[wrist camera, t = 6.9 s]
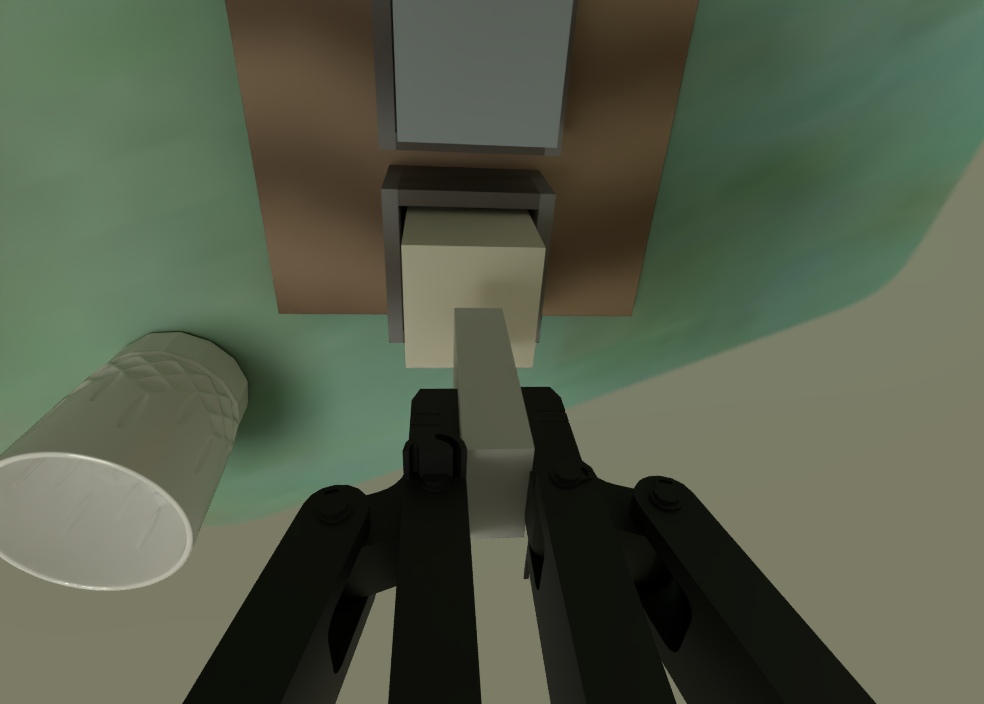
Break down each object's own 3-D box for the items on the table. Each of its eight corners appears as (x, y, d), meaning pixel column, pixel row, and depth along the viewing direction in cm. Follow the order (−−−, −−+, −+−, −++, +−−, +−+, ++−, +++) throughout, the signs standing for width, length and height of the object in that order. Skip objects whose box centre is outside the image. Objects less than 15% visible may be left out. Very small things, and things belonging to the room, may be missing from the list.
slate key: (401, -42, 18) (390, -63, 13) (544, -31, 18) (578, -48, 14) (405, 116, 20) (397, 141, 16) (532, 122, 21) (556, 147, 16)
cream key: (408, 201, 22) (401, 244, 17) (524, 205, 22) (545, 247, 18) (411, 307, 24) (405, 368, 20) (516, 308, 25) (532, 367, 20)
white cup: (276, 349, 29) (209, 485, 20) (244, 453, 32) (175, 605, 24) (114, 298, 27) (-37, 427, 18) (98, 415, 30) (-35, 569, 22)
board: (158, -469, 15) (42, -675, 11) (763, -379, 17) (880, -522, 12) (284, 302, 27) (255, 356, 23) (624, 305, 29) (658, 355, 25)
